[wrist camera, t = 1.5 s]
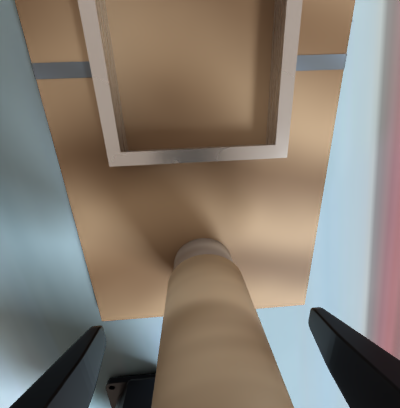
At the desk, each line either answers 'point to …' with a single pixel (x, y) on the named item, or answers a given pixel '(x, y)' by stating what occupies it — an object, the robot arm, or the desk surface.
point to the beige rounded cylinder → (213, 338)
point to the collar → (120, 156)
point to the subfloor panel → (190, 140)
